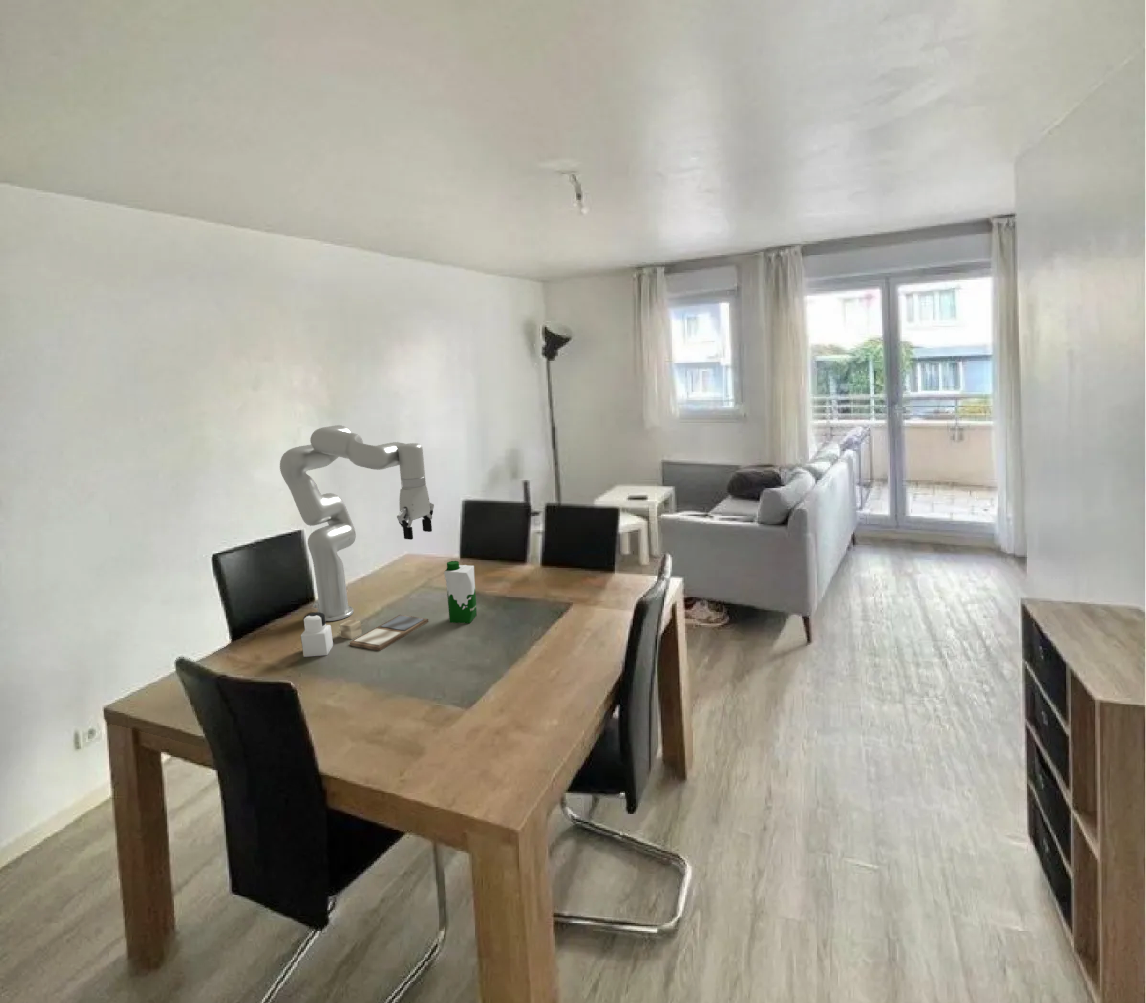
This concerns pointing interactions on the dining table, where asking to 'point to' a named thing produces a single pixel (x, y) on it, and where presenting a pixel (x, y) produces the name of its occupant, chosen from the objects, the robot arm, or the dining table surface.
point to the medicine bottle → (316, 635)
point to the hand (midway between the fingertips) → (418, 535)
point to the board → (389, 632)
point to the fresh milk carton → (460, 592)
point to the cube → (350, 629)
